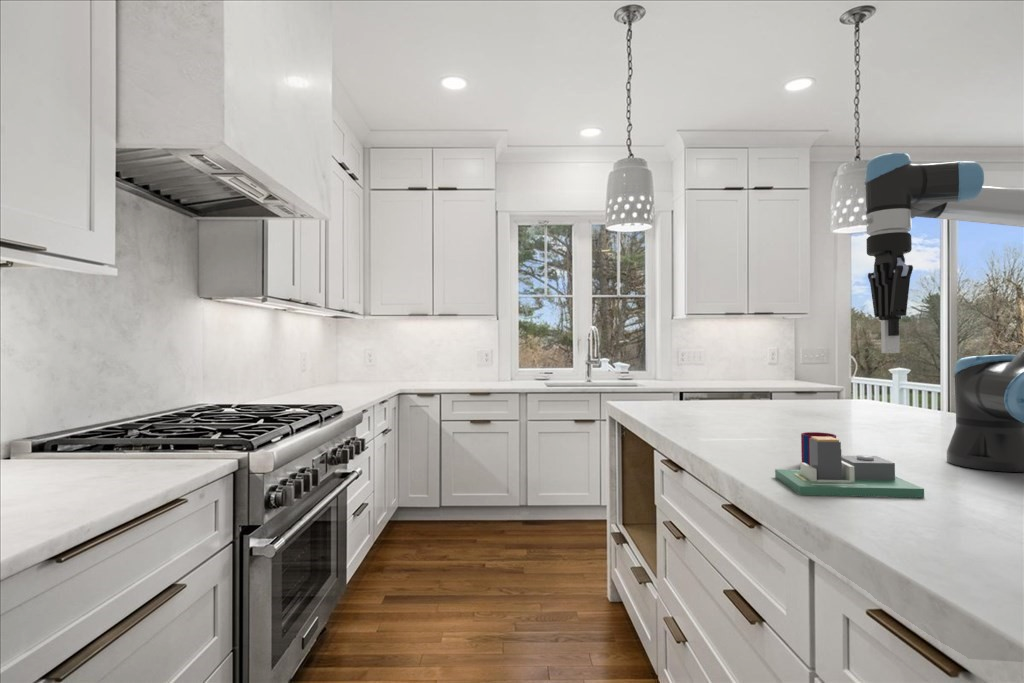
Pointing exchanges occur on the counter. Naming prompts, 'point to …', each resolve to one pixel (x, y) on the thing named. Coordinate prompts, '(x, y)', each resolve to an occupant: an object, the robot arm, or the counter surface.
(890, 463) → the grey box with tab
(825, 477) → the grey upright block
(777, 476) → the board
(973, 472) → the counter surface
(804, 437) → the mug
